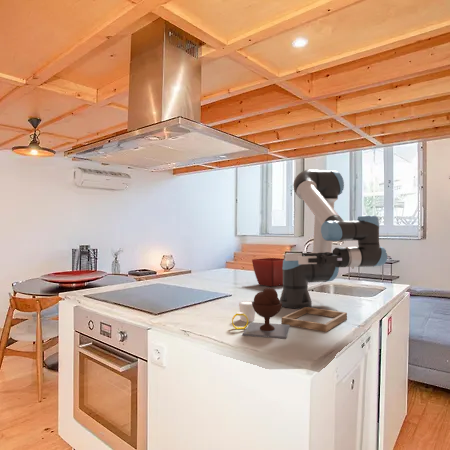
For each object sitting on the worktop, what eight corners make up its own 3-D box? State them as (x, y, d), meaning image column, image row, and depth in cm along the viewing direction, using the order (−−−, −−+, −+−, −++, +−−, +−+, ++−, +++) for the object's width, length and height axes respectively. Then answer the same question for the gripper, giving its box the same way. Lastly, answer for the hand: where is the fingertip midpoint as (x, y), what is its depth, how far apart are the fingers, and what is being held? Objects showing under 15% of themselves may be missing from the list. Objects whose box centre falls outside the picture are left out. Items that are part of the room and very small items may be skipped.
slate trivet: (242, 335, 119) (242, 333, 119) (250, 323, 134) (250, 322, 134) (286, 338, 115) (286, 336, 115) (289, 326, 130) (289, 324, 130)
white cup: (245, 316, 145) (245, 300, 145) (259, 319, 140) (259, 302, 140) (235, 320, 139) (235, 302, 139) (249, 323, 135) (249, 305, 135)
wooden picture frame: (281, 323, 133) (281, 317, 133) (305, 312, 151) (305, 306, 151) (326, 331, 122) (326, 325, 122) (346, 318, 140) (346, 312, 140)
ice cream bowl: (278, 324, 130) (278, 284, 131) (284, 333, 119) (284, 289, 120) (251, 324, 130) (250, 285, 130) (254, 333, 119) (253, 290, 119)
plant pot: (271, 281, 238) (271, 257, 239) (293, 285, 224) (292, 259, 224) (251, 284, 226) (251, 259, 226) (273, 288, 212) (272, 261, 212)
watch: (247, 328, 129) (248, 312, 129) (248, 330, 126) (248, 313, 126) (231, 327, 129) (232, 311, 129) (231, 329, 126) (232, 313, 126)
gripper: (364, 271, 117) (305, 273, 114) (330, 263, 142) (281, 265, 139) (363, 249, 118) (304, 250, 114) (330, 245, 142) (280, 246, 139)
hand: (291, 258), depth 126 cm, fingers open, 13 cm apart
